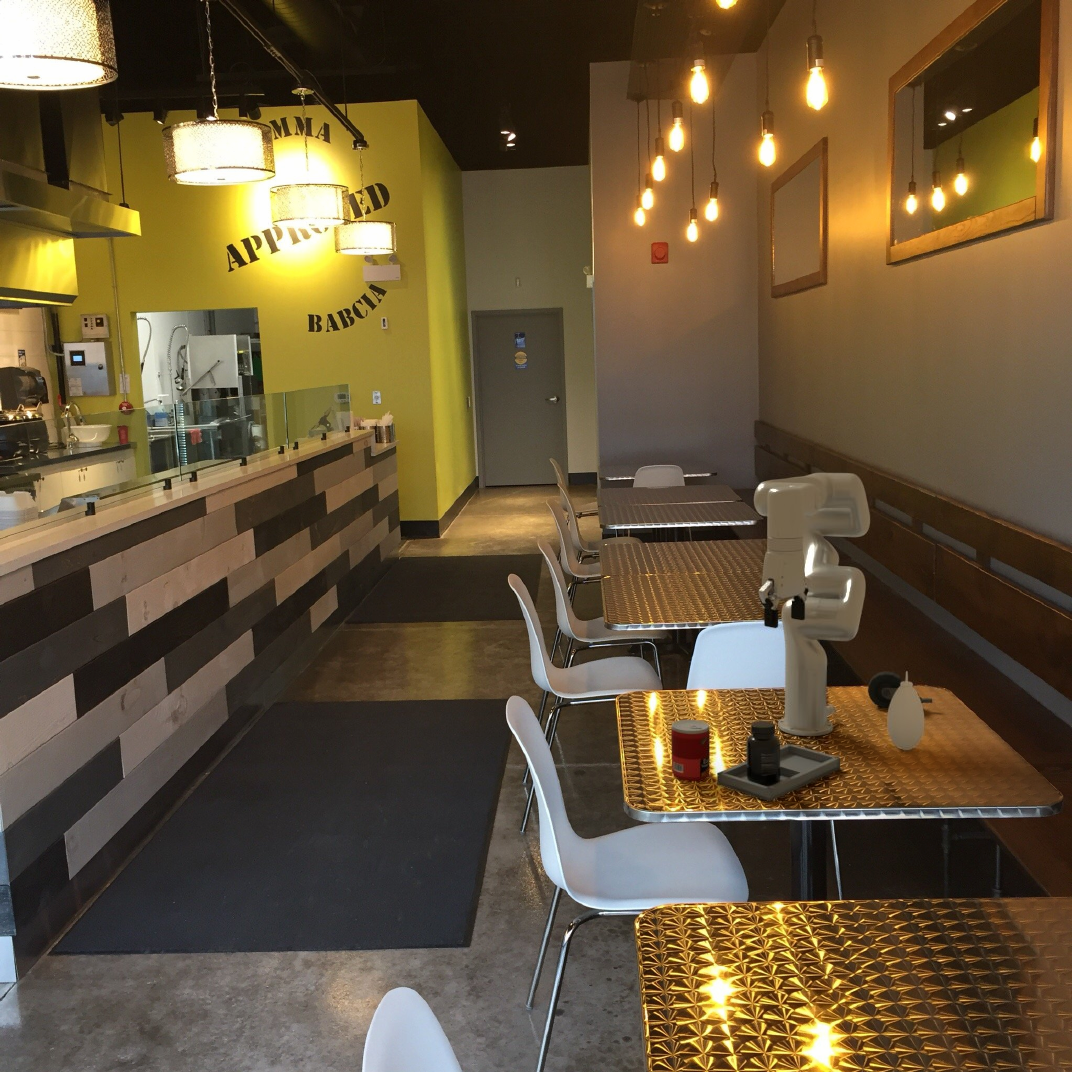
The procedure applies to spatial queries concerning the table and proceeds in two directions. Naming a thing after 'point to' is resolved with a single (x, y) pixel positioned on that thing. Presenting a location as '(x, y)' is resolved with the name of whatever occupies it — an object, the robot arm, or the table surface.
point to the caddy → (782, 773)
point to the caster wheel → (886, 689)
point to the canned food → (690, 750)
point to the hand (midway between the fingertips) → (784, 623)
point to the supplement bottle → (763, 754)
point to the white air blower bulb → (905, 717)
